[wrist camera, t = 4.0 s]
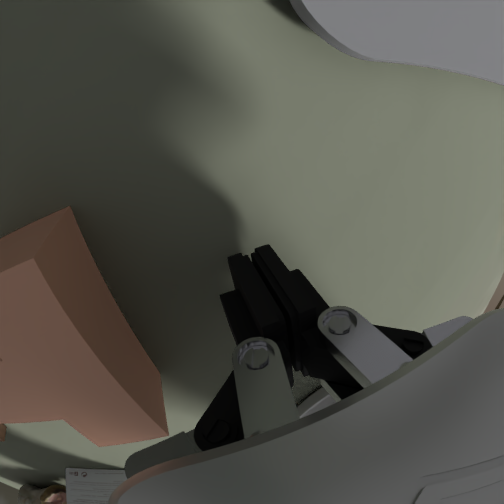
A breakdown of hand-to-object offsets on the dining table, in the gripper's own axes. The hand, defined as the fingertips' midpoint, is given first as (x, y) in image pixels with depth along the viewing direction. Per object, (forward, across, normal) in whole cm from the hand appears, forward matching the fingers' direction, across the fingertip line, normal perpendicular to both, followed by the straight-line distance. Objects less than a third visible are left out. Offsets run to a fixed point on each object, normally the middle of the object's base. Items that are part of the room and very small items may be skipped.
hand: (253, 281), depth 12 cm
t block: (+1, +11, 0) cm, 11 cm away
